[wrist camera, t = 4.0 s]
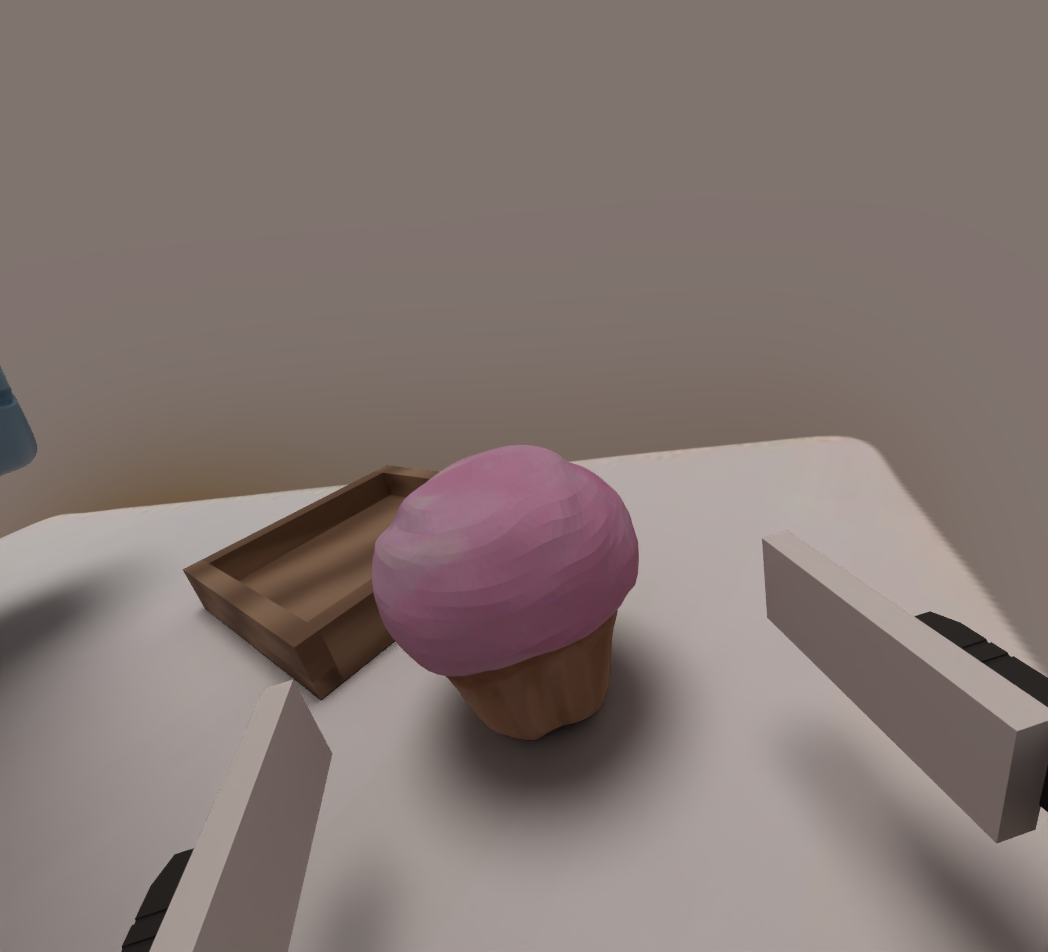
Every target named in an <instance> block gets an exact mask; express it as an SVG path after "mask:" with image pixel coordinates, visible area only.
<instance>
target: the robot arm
mask: <svg viewBox="0 0 1048 952" xmlns="http://www.w3.org/2000/svg"><path fill="white" fill-rule="evenodd" d="M36 453H37V444H36V440H35V438H34V435H33V433H32V430H31V428H30V426H29V424H28V421H27V419H26V417H25V415H24V413H23V411H22V409H21V407H20V405H19V403H18V401H17V399H16V398H15V396H14V395H13V393H12V391H11V387H10V386H9V384H8V382H7V380H6V377H5V375H4V373H3V371H2V369H1V367H0V476H2V475H5V474H8V473H10V472H13V471H16V470H19V469H21V468H23V467H25V466H27V465H28V464H30V463H31V462H32V461H33V459H34V458H35V456H36ZM762 544H763V560H764V575H765V591H766V606H767V618H768V619H769V620H770V621H771V622H772V623H773V624H774V625H775V626H776V627H777V628H778V629H779V630H780V631H782V632H783V633H784V634H785V635H786V636H787V637H788V638H789V639H790V640H791V641H792V642H793V643H794V644H795V645H796V646H797V647H798V648H799V649H800V650H801V651H802V652H803V653H804V654H805V655H806V656H807V657H808V658H809V659H810V660H811V661H812V662H813V663H814V664H815V665H816V666H817V667H818V668H819V669H820V670H821V671H822V672H823V673H824V674H825V675H826V676H827V677H828V678H829V679H830V680H831V681H832V682H833V683H834V684H835V685H836V686H837V687H838V688H839V689H840V690H841V691H842V692H843V693H844V694H845V695H846V696H847V697H848V698H849V699H851V700H852V701H853V702H854V703H855V704H856V705H857V706H858V707H859V708H860V709H861V710H862V711H863V712H864V713H865V714H866V715H867V716H868V717H869V718H870V719H871V720H872V721H873V722H874V723H875V724H876V725H877V726H878V727H879V728H880V729H881V730H882V731H883V732H884V733H885V734H886V735H887V736H888V737H889V738H890V739H891V740H892V741H893V742H894V743H895V744H896V745H897V746H898V747H899V748H900V749H901V750H902V751H903V752H904V753H905V754H906V755H907V756H908V757H909V758H910V759H911V760H912V761H913V762H914V763H915V764H916V765H917V766H918V767H920V768H921V769H922V770H923V771H924V772H925V773H926V774H927V775H928V776H929V777H930V778H931V779H932V780H933V781H934V782H935V783H936V784H937V785H938V786H939V787H940V788H941V789H942V790H943V791H944V792H945V793H946V794H947V795H948V796H949V797H950V798H951V799H952V800H953V801H954V802H955V803H956V804H957V805H958V806H959V807H960V808H961V809H962V810H963V811H964V812H965V813H966V814H967V815H968V816H969V817H970V818H971V819H972V820H973V821H974V822H975V823H976V824H977V825H978V826H979V827H980V828H981V829H982V830H983V831H984V832H985V833H986V834H987V835H988V836H990V837H991V838H992V839H993V840H994V841H995V842H996V843H999V842H1002V841H1005V840H1008V839H1010V838H1013V837H1016V836H1019V835H1022V834H1024V833H1027V832H1030V831H1033V830H1035V829H1036V825H1037V820H1038V816H1039V812H1040V807H1042V808H1043V809H1045V810H1046V811H1047V812H1048V678H1047V677H1045V676H1044V675H1042V674H1041V673H1039V672H1038V671H1036V670H1034V669H1033V668H1031V667H1030V666H1028V665H1026V664H1025V663H1023V662H1022V661H1020V660H1019V659H1017V658H1015V657H1014V656H1013V657H1010V656H1009V655H1008V652H1006V651H1004V650H1003V649H1001V648H1000V647H998V646H996V645H995V644H993V643H992V642H991V643H988V642H987V640H986V639H985V638H984V637H982V636H981V635H979V634H977V633H976V632H974V631H973V630H971V629H970V628H968V627H966V626H965V625H963V624H962V623H960V622H957V621H954V620H952V619H949V618H946V617H944V616H941V615H938V614H936V613H933V612H927V613H924V614H920V615H917V616H913V615H911V614H910V613H908V612H907V611H905V610H904V609H902V608H901V607H899V606H898V605H897V604H895V603H894V602H892V601H891V600H889V599H888V598H886V597H885V596H883V595H882V594H880V593H879V592H877V591H876V590H874V589H873V588H872V587H870V586H869V585H867V584H866V583H864V582H863V581H861V580H860V579H858V578H857V577H855V576H854V575H852V574H851V573H850V572H848V571H847V570H845V569H844V568H842V567H841V566H839V565H838V564H836V563H835V562H833V561H832V560H830V559H829V558H827V557H826V556H825V555H823V554H822V553H820V552H819V551H817V550H816V549H814V548H813V547H811V546H810V545H808V544H807V543H805V542H804V541H802V540H801V539H800V538H798V537H797V536H795V535H794V534H792V533H791V532H789V531H788V530H787V531H784V532H781V533H777V534H774V535H771V536H767V537H764V538H762ZM331 757H332V752H331V750H330V748H329V747H328V745H327V743H326V741H325V739H324V737H323V735H322V733H321V731H320V729H319V728H318V726H317V724H316V722H315V720H314V718H313V716H312V714H311V712H310V711H309V709H308V707H307V705H306V703H305V701H304V699H303V697H302V695H301V694H300V692H299V690H298V688H297V686H296V684H295V682H294V680H290V681H287V682H283V683H280V684H277V685H273V686H270V687H267V688H264V689H263V691H262V694H261V696H260V698H259V701H258V703H257V705H256V707H255V710H254V712H253V714H252V717H251V719H250V721H249V724H248V726H247V728H246V730H245V733H244V735H243V737H242V740H241V742H240V744H239V747H238V749H237V751H236V753H235V756H234V758H233V760H232V763H231V765H230V767H229V769H228V772H227V774H226V776H225V779H224V781H223V783H222V786H221V788H220V790H219V792H218V795H217V797H216V799H215V802H214V804H213V806H212V809H211V811H210V813H209V815H208V818H207V820H206V822H205V825H204V827H203V829H202V832H201V834H200V836H199V838H198V841H197V843H196V845H195V848H193V849H190V850H187V851H184V852H181V853H178V854H175V855H174V856H173V857H172V859H171V860H170V861H169V863H168V864H167V865H166V867H165V868H164V869H163V871H162V872H161V873H160V874H159V876H158V877H157V878H156V880H155V881H154V882H153V884H152V885H151V887H150V889H149V891H148V893H147V895H146V897H145V899H144V901H143V903H142V905H141V907H140V910H139V912H138V914H137V916H136V918H135V920H136V922H135V924H134V925H132V926H131V928H130V930H129V932H128V935H127V937H126V939H125V941H124V943H123V945H122V952H288V948H289V943H290V939H291V934H292V930H293V926H294V921H295V917H296V912H297V908H298V903H299V899H300V895H301V890H302V886H303V881H304V877H305V872H306V868H307V863H308V859H309V855H310V850H311V846H312V841H313V837H314V832H315V828H316V824H317V819H318V815H319V810H320V806H321V801H322V797H323V793H324V788H325V784H326V779H327V775H328V770H329V766H330V761H331Z"/></svg>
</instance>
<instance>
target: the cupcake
mask: <svg viewBox="0 0 1048 952" xmlns="http://www.w3.org/2000/svg"><path fill="white" fill-rule="evenodd" d="M638 562H639V553H638V540H637V537H636V534H635V531H634V528H633V524H632V521H631V517H630V515H629V512H628V510H627V508H626V507H625V505H624V503H623V501H622V499H621V497H620V496H619V495H618V494H617V492H616V491H615V490H614V489H612V488H611V487H610V486H609V485H608V484H607V483H606V482H605V481H604V480H602V479H601V478H600V477H599V476H598V475H596V474H595V473H593V472H591V471H590V470H588V469H586V468H584V467H582V466H579V465H576V464H573V463H569V462H566V461H565V460H564V459H563V458H562V457H561V456H559V455H558V454H556V453H555V452H553V451H550V450H548V449H545V448H541V447H537V446H529V445H512V446H506V447H501V448H496V449H493V450H489V451H486V452H483V453H479V454H476V455H473V456H470V457H467V458H464V459H462V460H460V461H457V462H456V463H454V464H452V465H450V466H448V467H447V468H445V469H444V470H442V471H441V472H439V473H438V474H436V475H435V476H433V477H432V478H431V479H430V480H428V481H427V482H426V483H425V484H423V485H422V486H420V487H419V488H417V489H416V490H415V491H413V492H412V493H411V494H410V495H408V496H407V497H406V498H405V499H404V500H403V502H402V503H401V505H400V507H399V509H398V512H397V514H396V516H395V518H394V520H393V522H392V523H391V525H390V526H389V527H388V528H387V529H386V530H385V531H384V532H383V533H382V534H381V535H380V536H379V537H378V539H377V540H376V542H375V550H374V555H373V563H372V586H373V593H374V597H375V601H376V604H377V607H378V610H379V613H380V616H381V618H382V621H383V623H384V626H385V627H386V629H387V631H388V632H389V634H390V635H391V637H392V638H393V639H394V640H395V641H396V642H397V643H398V645H399V646H400V647H401V648H402V649H403V650H404V651H405V652H406V653H407V654H408V655H409V656H410V657H411V658H412V659H414V660H415V661H416V662H417V663H418V664H419V665H420V666H422V667H424V668H425V669H427V670H428V671H430V672H433V673H436V674H439V675H444V676H446V677H447V678H448V679H449V680H450V681H451V683H452V684H453V685H454V686H455V687H456V688H457V689H458V690H459V692H460V693H461V695H462V696H463V698H464V699H465V700H466V701H467V703H468V704H469V706H470V707H471V708H472V709H473V711H474V712H475V713H476V714H477V715H478V717H479V718H480V719H481V720H482V721H483V722H484V723H485V724H486V725H487V726H488V727H489V728H490V729H492V730H493V731H495V732H497V733H500V734H503V735H507V736H511V737H514V738H517V739H523V740H538V739H539V738H541V737H542V736H544V735H545V734H547V733H548V732H550V731H552V730H554V729H556V728H558V727H560V726H563V725H568V724H572V723H576V722H579V721H582V720H584V719H586V718H589V717H590V716H592V715H594V714H595V713H596V712H597V711H598V710H599V709H600V707H601V706H602V704H603V702H604V699H605V696H606V692H607V689H608V684H609V678H610V670H611V647H612V634H613V628H614V624H615V620H616V616H617V609H618V608H619V607H620V606H621V604H622V602H623V601H624V599H625V597H626V596H627V594H628V592H629V591H630V590H631V589H632V588H633V587H634V585H635V583H636V579H637V575H638Z"/></svg>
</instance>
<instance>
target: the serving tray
mask: <svg viewBox="0 0 1048 952" xmlns="http://www.w3.org/2000/svg"><path fill="white" fill-rule="evenodd" d="M438 473H439V472H437V471H429V470H421V469H412V468H404V467H396V466H387V465H386V466H385V467H382V468H381V469H379V470H377V471H375V472H373V473H371V474H369V475H367V476H365V477H363V478H361V479H359V480H357V481H355V482H353V483H351V484H349V485H347V486H345V487H343V488H341V489H339V490H338V491H336V492H334V493H332V494H330V495H328V496H326V497H324V498H322V499H320V500H318V501H316V502H314V503H312V504H310V505H308V506H306V507H304V508H302V509H300V510H298V511H296V512H295V513H293V514H291V515H289V516H287V517H285V518H283V519H281V520H279V521H277V522H275V523H273V524H271V525H269V526H267V527H265V528H263V529H261V530H259V531H257V532H255V533H253V534H252V535H250V536H248V537H246V538H244V539H242V540H240V541H238V542H236V543H234V544H232V545H230V546H228V547H226V548H224V549H222V550H220V551H218V552H216V553H214V554H212V555H210V556H209V557H207V558H205V559H203V560H201V561H199V562H197V563H195V564H193V565H191V566H189V567H187V568H185V569H183V571H184V573H185V574H186V576H187V578H188V580H189V581H190V583H191V585H192V587H193V588H194V590H195V592H196V594H197V595H198V597H199V599H200V601H201V602H202V604H203V606H204V608H205V609H207V610H208V611H209V612H211V613H212V614H213V615H214V616H216V617H217V618H218V619H219V620H221V621H222V622H223V623H224V624H226V625H227V626H228V627H229V628H231V629H232V630H233V631H234V632H236V633H237V634H238V635H240V636H241V637H242V638H243V639H245V640H246V641H247V642H248V643H250V644H251V645H252V646H253V647H255V648H256V649H257V650H258V651H260V652H261V653H262V654H264V655H265V656H266V657H267V658H269V659H270V660H271V661H272V662H274V663H275V664H276V665H277V666H279V667H280V668H281V669H282V670H284V671H285V672H286V673H288V674H289V675H290V676H291V677H293V678H294V679H295V680H296V681H298V682H299V683H300V684H301V685H303V686H304V687H305V688H306V689H308V690H309V691H310V692H312V693H313V694H314V695H315V696H317V697H318V698H319V699H320V700H321V699H323V698H324V697H325V696H326V695H328V694H329V693H330V692H331V691H333V690H334V689H335V688H336V687H338V686H339V685H340V684H341V683H343V682H344V681H345V680H346V679H348V678H349V677H350V676H351V675H353V674H354V673H355V672H356V671H358V670H359V669H360V668H361V667H363V666H364V665H365V664H366V663H368V662H369V661H370V660H371V659H373V658H374V657H375V656H376V655H378V654H379V653H380V652H381V651H383V650H384V649H385V648H386V647H388V646H389V645H390V644H391V643H393V642H394V641H395V640H394V639H393V638H392V637H391V635H390V634H389V632H388V631H387V629H386V627H385V626H384V623H383V621H382V618H381V616H380V613H379V610H378V607H377V604H376V601H375V597H374V593H373V586H372V563H373V555H374V550H375V542H376V540H377V539H378V537H379V536H380V535H381V534H382V533H383V532H384V531H385V530H386V529H387V528H388V527H389V526H390V525H391V523H392V522H393V520H394V518H395V516H396V514H397V512H398V509H399V507H400V505H401V503H402V502H403V500H404V499H405V498H406V497H407V496H408V495H410V494H411V493H412V492H413V491H415V490H416V489H417V488H419V487H420V486H422V485H423V484H425V483H426V482H427V481H428V480H430V479H431V478H432V477H433V476H435V475H436V474H438Z"/></svg>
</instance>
